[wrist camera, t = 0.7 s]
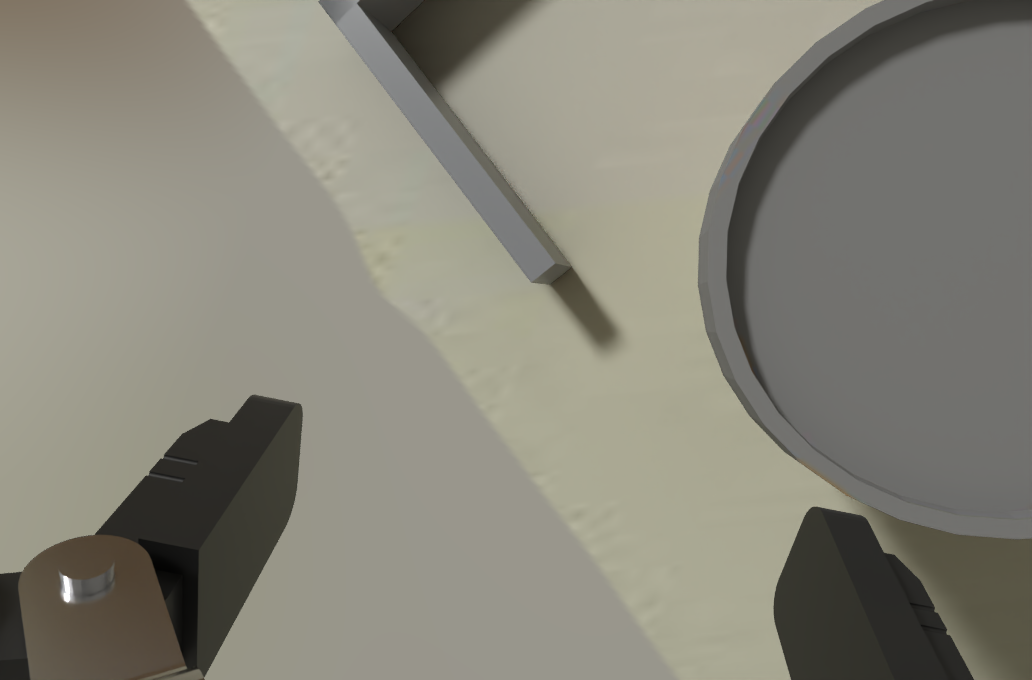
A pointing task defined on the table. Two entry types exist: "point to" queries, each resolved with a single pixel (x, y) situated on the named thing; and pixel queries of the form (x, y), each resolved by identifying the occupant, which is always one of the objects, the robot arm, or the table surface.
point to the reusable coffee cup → (889, 263)
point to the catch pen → (445, 132)
